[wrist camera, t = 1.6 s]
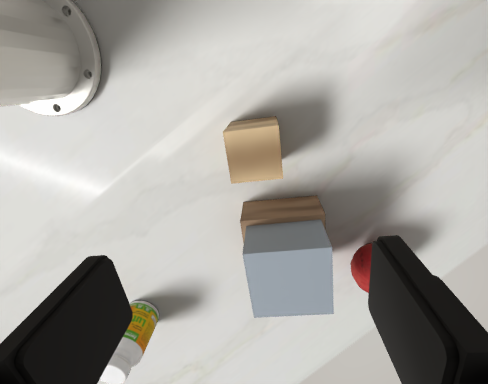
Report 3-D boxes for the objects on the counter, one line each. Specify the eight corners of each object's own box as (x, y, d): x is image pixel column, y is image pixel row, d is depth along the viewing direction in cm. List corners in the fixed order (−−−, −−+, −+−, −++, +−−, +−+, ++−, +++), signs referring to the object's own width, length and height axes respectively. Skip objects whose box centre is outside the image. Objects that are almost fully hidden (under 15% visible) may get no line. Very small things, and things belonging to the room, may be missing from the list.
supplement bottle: (158, 300, 41) (128, 363, 32) (161, 325, 43) (134, 390, 34) (124, 298, 41) (85, 359, 32) (129, 322, 43) (94, 386, 34)
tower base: (243, 201, 33) (240, 221, 28) (316, 194, 32) (325, 214, 27) (252, 259, 36) (250, 285, 32) (318, 255, 35) (326, 281, 31)
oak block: (230, 122, 29) (222, 132, 24) (275, 116, 28) (278, 125, 23) (237, 164, 31) (231, 183, 25) (279, 160, 30) (283, 178, 25)
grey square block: (246, 226, 29) (242, 254, 24) (321, 219, 28) (332, 247, 23) (255, 283, 32) (254, 317, 27) (323, 278, 31) (333, 313, 26)
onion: (341, 234, 34) (363, 277, 26) (389, 227, 33) (425, 270, 25) (344, 270, 36) (365, 319, 28) (389, 265, 35) (422, 314, 28)
